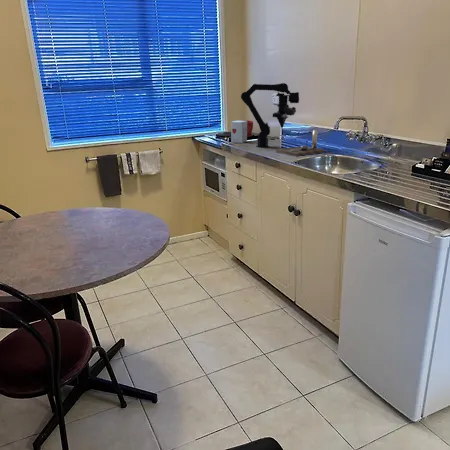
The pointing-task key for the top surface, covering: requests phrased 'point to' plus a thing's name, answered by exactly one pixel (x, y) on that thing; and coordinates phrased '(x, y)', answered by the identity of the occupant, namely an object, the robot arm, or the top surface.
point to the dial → (314, 142)
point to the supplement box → (239, 131)
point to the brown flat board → (299, 151)
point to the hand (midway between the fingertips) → (282, 127)
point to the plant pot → (249, 128)
